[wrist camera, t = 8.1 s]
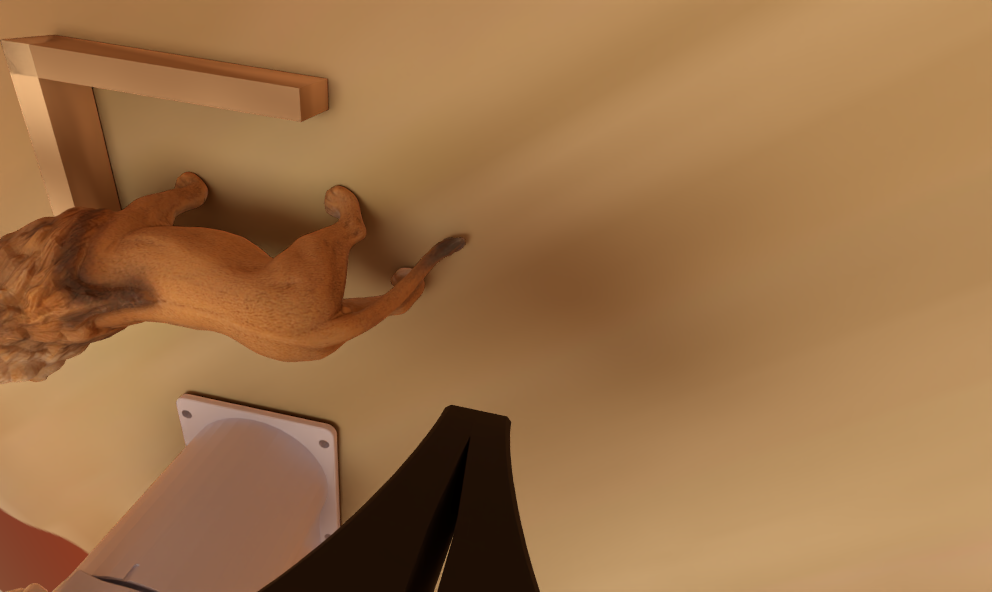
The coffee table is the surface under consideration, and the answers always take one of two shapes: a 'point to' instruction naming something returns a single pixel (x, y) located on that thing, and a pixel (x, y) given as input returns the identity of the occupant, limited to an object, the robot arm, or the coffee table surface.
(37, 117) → the wooden frame
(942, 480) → the coffee table surface
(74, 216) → the lion figurine
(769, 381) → the coffee table surface
